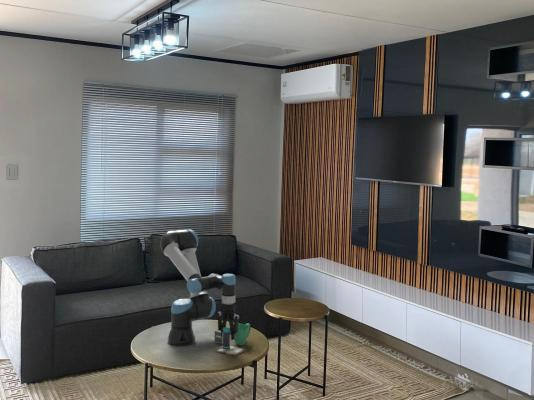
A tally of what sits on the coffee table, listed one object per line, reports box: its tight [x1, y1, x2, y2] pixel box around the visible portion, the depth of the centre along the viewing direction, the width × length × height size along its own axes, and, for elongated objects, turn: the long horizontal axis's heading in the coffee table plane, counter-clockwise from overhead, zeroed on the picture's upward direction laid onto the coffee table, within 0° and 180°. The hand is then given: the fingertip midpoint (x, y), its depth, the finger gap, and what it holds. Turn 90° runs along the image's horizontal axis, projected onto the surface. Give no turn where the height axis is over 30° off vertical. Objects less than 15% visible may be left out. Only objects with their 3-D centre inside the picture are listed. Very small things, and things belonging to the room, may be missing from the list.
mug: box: [233, 323, 252, 346], centre depth 322 cm, size 15×10×10 cm
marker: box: [222, 326, 231, 349], centre depth 310 cm, size 4×4×11 cm
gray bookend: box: [212, 330, 223, 345], centre depth 321 cm, size 8×3×6 cm, turn 62°
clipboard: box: [214, 345, 247, 358], centre depth 309 cm, size 13×11×1 cm
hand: (227, 344), depth 312 cm, fingers closed on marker, 4 cm apart
